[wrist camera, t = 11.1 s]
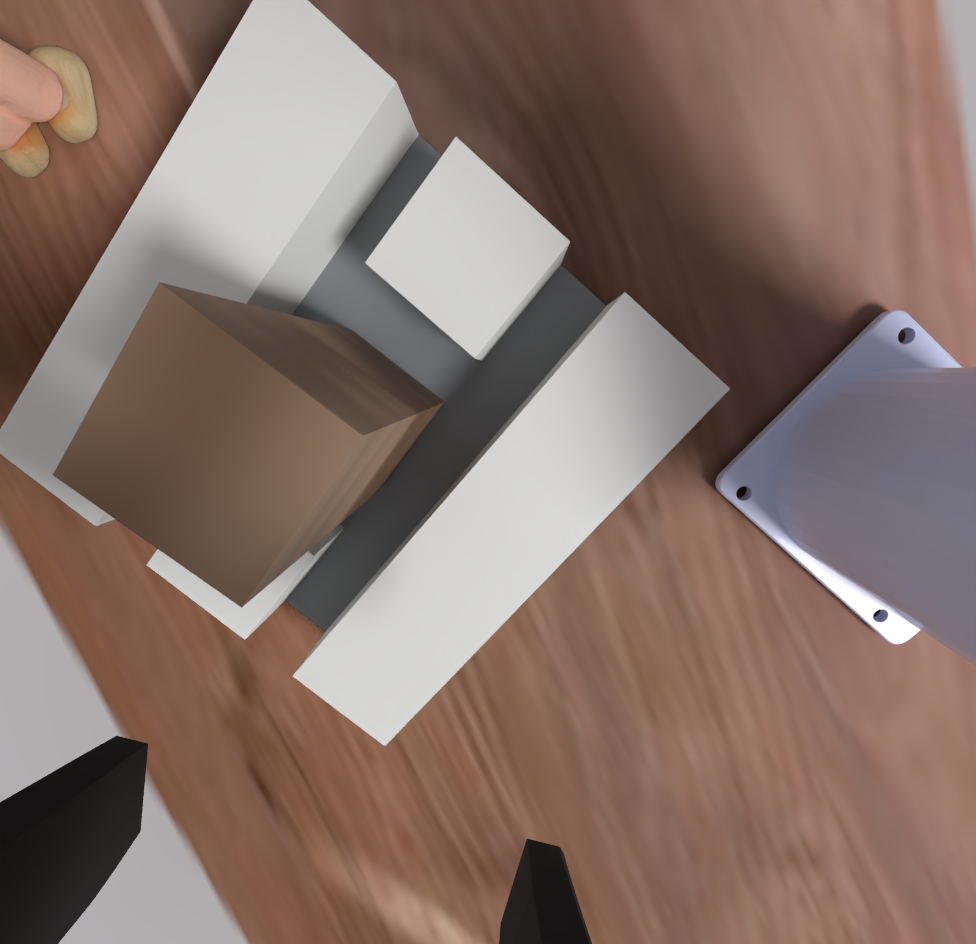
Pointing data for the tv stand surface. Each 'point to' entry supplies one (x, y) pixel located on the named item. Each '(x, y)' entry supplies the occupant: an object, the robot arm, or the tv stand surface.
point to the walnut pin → (241, 435)
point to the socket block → (396, 334)
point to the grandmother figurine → (42, 104)
